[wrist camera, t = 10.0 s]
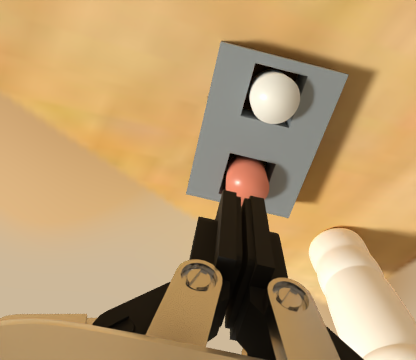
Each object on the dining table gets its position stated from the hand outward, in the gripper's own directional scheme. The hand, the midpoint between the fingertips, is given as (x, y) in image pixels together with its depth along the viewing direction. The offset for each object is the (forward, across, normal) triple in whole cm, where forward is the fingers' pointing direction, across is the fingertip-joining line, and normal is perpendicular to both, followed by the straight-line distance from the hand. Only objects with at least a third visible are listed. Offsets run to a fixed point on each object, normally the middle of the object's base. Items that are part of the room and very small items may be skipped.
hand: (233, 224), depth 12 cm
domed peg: (+22, -3, -2) cm, 23 cm away
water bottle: (+23, -18, +16) cm, 33 cm away
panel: (+23, -3, +3) cm, 24 cm away
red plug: (+21, -3, +7) cm, 23 cm away
